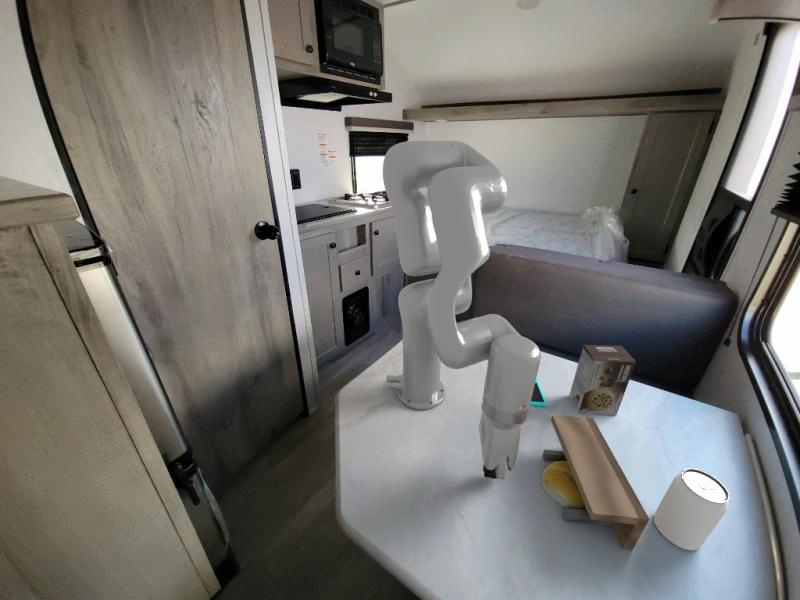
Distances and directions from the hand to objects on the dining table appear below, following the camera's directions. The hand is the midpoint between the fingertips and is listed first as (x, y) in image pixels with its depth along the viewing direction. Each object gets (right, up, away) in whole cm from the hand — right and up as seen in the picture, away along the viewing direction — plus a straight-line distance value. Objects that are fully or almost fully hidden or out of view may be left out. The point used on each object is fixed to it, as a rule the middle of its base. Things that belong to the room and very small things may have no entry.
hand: (491, 474), depth 63 cm
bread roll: (+14, -2, -1) cm, 14 cm away
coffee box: (+30, +7, +18) cm, 36 cm away
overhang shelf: (+17, -2, -1) cm, 17 cm away
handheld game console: (+15, +10, +25) cm, 31 cm away
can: (+29, -5, -8) cm, 31 cm away
